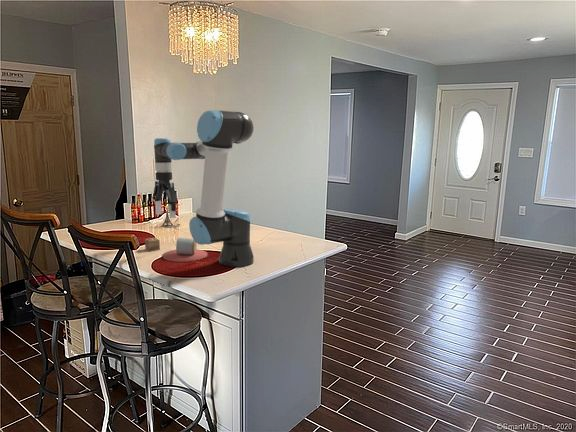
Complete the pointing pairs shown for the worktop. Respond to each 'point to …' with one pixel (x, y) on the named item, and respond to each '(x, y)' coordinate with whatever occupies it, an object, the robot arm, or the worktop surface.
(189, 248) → the light grey block
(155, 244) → the walnut cube
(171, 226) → the eiffel tower figurine
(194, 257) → the placemat
